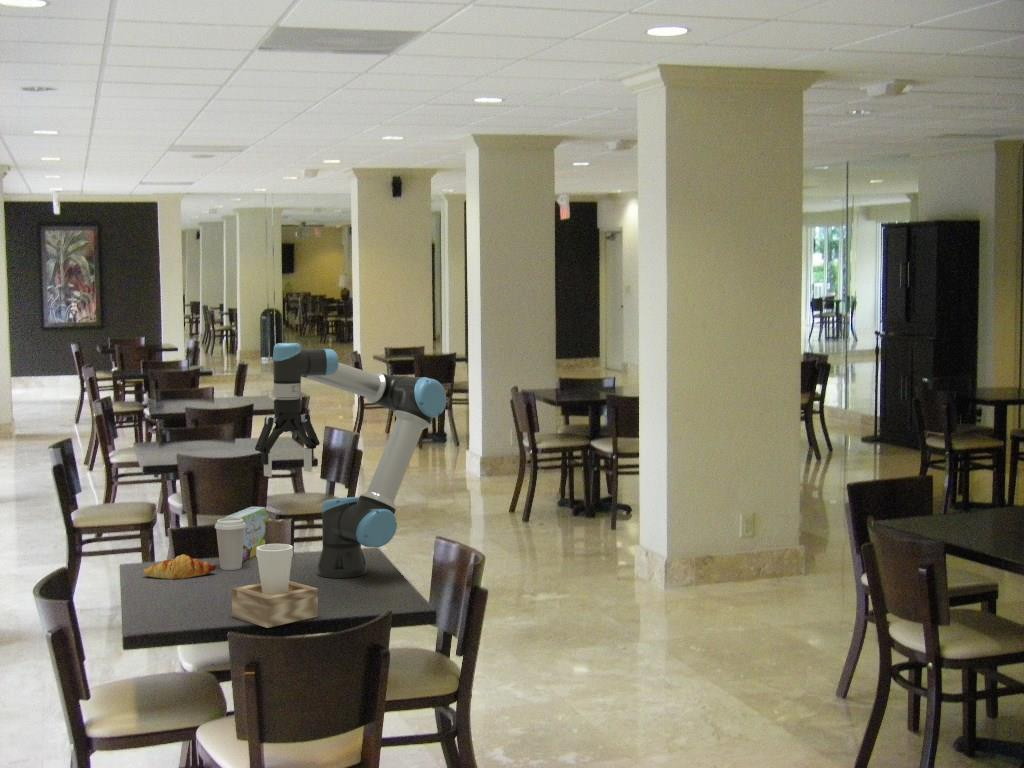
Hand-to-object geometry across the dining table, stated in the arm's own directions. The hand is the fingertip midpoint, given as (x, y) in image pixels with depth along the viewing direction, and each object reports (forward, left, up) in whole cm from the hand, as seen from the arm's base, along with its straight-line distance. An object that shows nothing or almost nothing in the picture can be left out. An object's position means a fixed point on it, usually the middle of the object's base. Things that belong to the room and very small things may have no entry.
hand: (288, 473), depth 346 cm
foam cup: (+16, +16, -29) cm, 37 cm away
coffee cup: (-8, -42, -35) cm, 55 cm away
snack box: (-20, -52, -35) cm, 66 cm away
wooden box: (+16, +16, -35) cm, 41 cm away
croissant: (+9, -44, -35) cm, 57 cm away
